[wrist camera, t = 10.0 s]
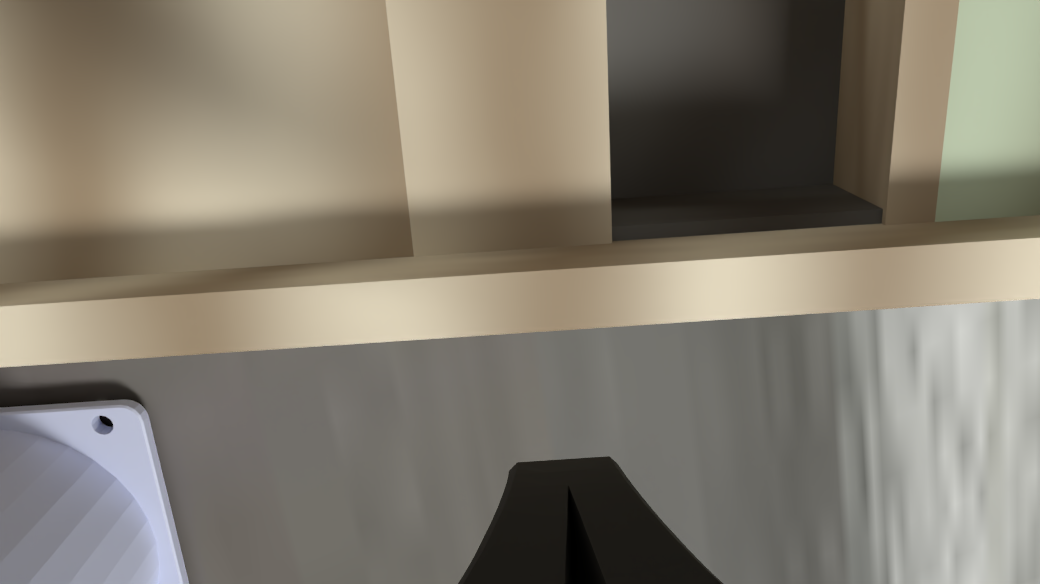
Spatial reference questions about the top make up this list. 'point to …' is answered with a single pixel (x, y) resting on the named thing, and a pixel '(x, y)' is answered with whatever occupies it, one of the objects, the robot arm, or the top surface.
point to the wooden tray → (502, 167)
